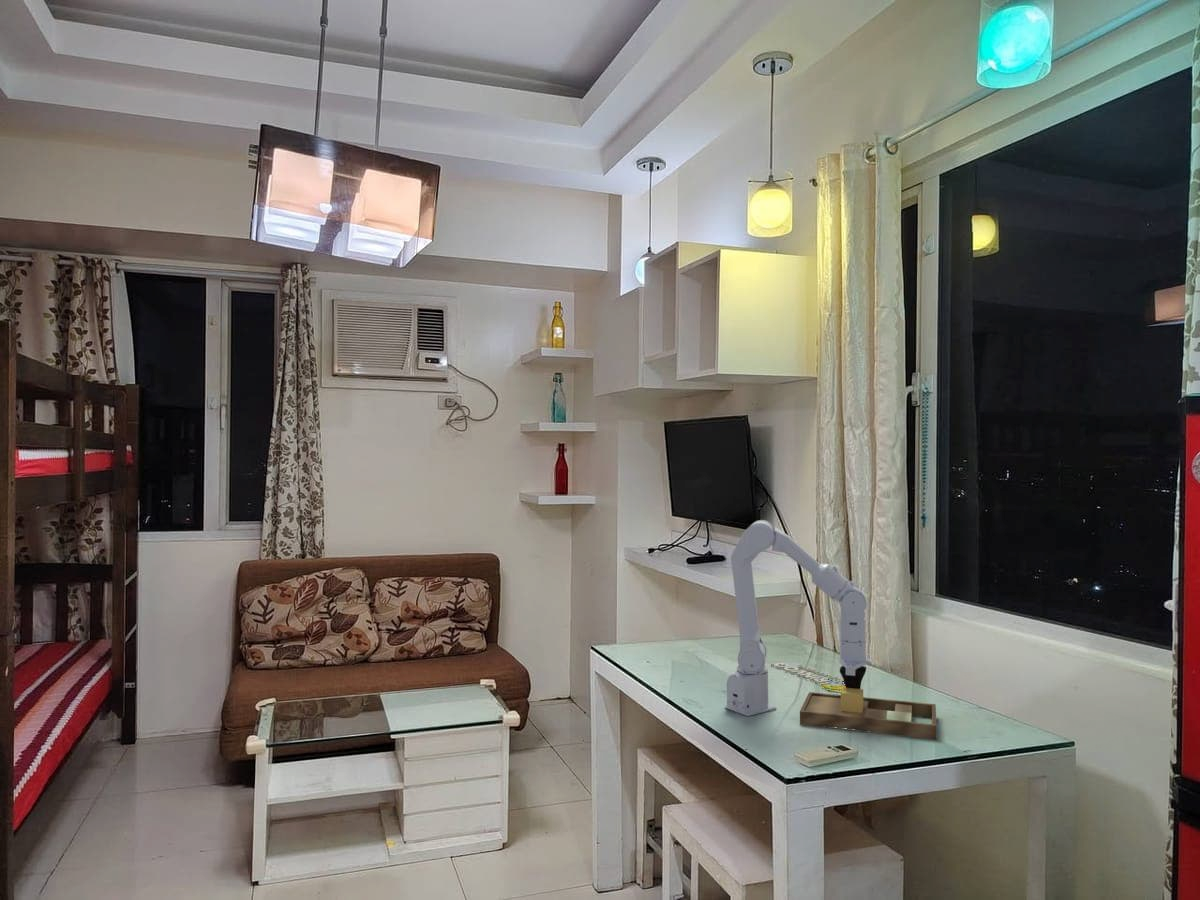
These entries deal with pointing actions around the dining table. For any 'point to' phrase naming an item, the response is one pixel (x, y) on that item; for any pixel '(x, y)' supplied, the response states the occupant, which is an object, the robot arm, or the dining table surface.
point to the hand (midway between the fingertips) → (853, 699)
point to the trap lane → (870, 715)
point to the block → (852, 700)
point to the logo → (809, 675)
